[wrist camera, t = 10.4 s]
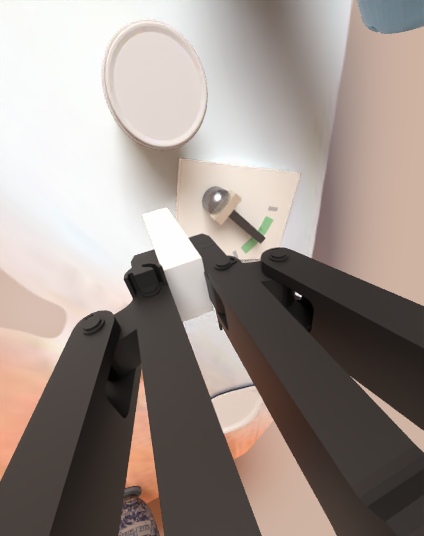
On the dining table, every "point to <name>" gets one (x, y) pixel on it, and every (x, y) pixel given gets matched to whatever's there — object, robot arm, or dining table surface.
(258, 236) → the dark grey lever
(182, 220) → the gauge board
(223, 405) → the plate
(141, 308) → the robot arm
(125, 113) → the coffee cup
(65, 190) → the dining table surface
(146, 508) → the decorative vase
